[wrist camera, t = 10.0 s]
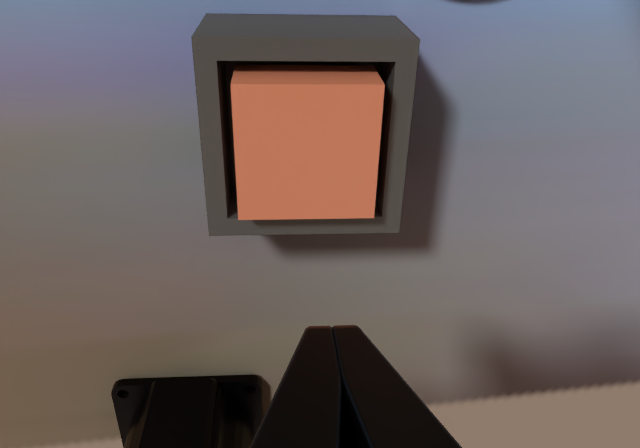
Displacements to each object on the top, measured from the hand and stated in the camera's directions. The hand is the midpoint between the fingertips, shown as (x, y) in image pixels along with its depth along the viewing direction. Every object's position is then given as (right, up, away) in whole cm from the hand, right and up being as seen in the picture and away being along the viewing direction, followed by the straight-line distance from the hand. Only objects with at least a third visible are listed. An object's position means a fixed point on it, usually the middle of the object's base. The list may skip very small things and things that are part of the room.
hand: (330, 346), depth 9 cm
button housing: (-1, +6, +10) cm, 12 cm away
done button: (-1, +5, +8) cm, 10 cm away
